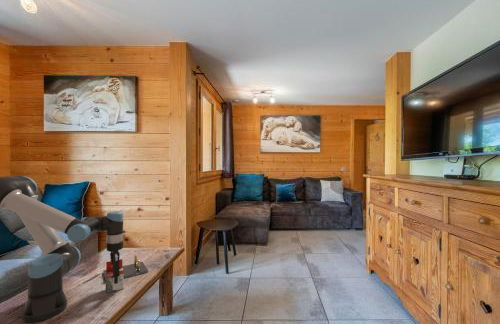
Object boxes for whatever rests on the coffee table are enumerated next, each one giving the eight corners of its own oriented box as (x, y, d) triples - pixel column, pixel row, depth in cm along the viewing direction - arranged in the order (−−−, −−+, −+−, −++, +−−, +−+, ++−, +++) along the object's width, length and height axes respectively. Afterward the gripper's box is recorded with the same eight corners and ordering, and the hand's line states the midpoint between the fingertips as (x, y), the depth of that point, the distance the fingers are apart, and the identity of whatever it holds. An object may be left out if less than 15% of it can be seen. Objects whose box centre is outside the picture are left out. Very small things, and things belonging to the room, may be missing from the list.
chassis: (105, 282, 130) (105, 269, 130) (103, 272, 143) (103, 260, 143) (148, 272, 143) (148, 260, 143) (142, 263, 156) (142, 252, 156)
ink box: (123, 289, 123) (123, 260, 123) (105, 293, 119) (105, 264, 119) (122, 286, 126) (123, 258, 126) (105, 290, 122) (105, 262, 122)
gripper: (126, 245, 117) (126, 292, 116) (120, 235, 134) (119, 276, 133) (108, 248, 112) (108, 297, 112) (104, 238, 129) (104, 280, 129)
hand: (114, 285), depth 123 cm, fingers open, 8 cm apart
